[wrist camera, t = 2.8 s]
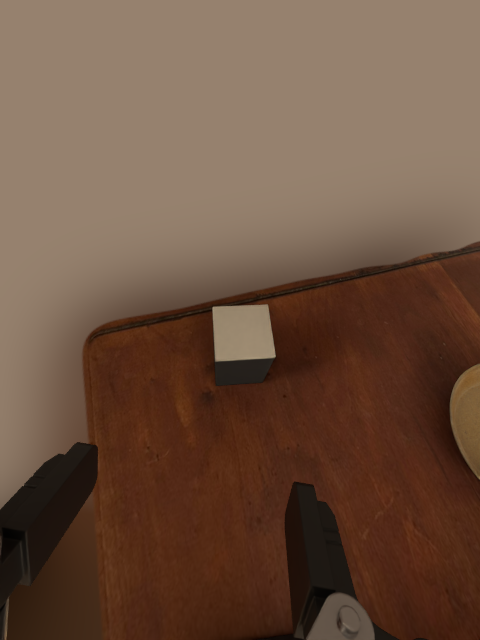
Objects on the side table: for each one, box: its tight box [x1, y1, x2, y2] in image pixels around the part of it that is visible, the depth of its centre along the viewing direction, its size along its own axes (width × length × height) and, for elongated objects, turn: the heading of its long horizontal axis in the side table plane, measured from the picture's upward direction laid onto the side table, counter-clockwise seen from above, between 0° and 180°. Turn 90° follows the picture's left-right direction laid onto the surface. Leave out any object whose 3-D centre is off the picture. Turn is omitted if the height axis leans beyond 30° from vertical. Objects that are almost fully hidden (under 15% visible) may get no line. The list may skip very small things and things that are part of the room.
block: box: [213, 305, 276, 386], centre depth 29 cm, size 5×5×8 cm
